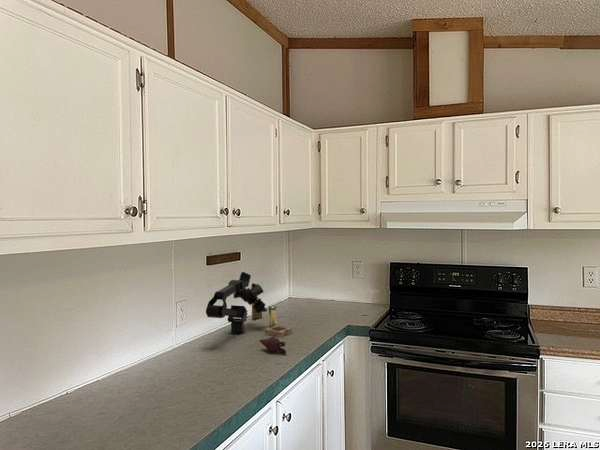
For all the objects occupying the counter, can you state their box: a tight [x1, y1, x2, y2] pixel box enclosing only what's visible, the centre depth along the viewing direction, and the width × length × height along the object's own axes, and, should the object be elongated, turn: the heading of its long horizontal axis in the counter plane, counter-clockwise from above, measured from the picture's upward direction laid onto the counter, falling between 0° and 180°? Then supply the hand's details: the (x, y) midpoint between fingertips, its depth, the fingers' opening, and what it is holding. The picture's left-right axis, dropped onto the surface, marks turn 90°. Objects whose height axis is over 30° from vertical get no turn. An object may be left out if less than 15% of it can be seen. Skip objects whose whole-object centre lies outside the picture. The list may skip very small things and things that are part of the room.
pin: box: [268, 305, 278, 328], centre depth 228 cm, size 4×4×12 cm
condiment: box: [248, 297, 263, 321], centre depth 252 cm, size 7×8×12 cm
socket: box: [264, 325, 293, 338], centre depth 219 cm, size 10×10×3 cm
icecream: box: [258, 336, 287, 355], centre depth 191 cm, size 7×7×15 cm
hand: (262, 306), depth 238 cm, fingers open, 9 cm apart
